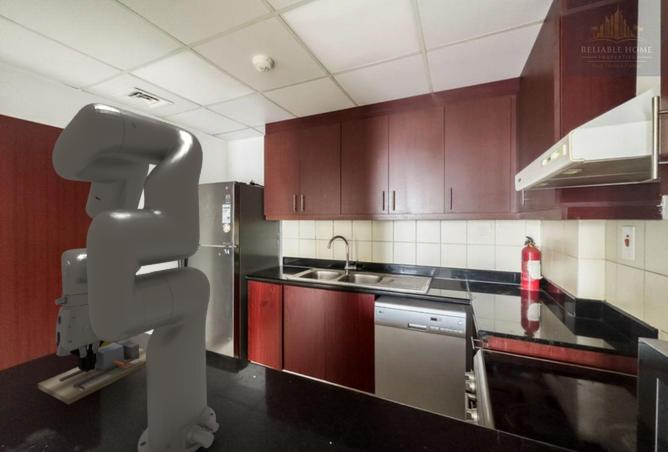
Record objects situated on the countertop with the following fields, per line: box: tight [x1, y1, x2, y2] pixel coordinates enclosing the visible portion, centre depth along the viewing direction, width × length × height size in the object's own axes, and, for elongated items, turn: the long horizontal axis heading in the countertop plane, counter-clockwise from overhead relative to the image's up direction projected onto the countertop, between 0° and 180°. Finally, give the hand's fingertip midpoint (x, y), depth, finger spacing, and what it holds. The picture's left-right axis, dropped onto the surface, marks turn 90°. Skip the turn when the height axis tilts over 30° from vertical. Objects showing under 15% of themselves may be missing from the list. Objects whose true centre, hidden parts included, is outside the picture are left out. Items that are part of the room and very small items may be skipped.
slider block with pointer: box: [95, 342, 125, 371], centre depth 69 cm, size 8×4×4 cm, turn 67°
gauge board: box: [37, 339, 146, 405], centre depth 69 cm, size 14×20×5 cm
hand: (87, 369), depth 66 cm, fingers closed
